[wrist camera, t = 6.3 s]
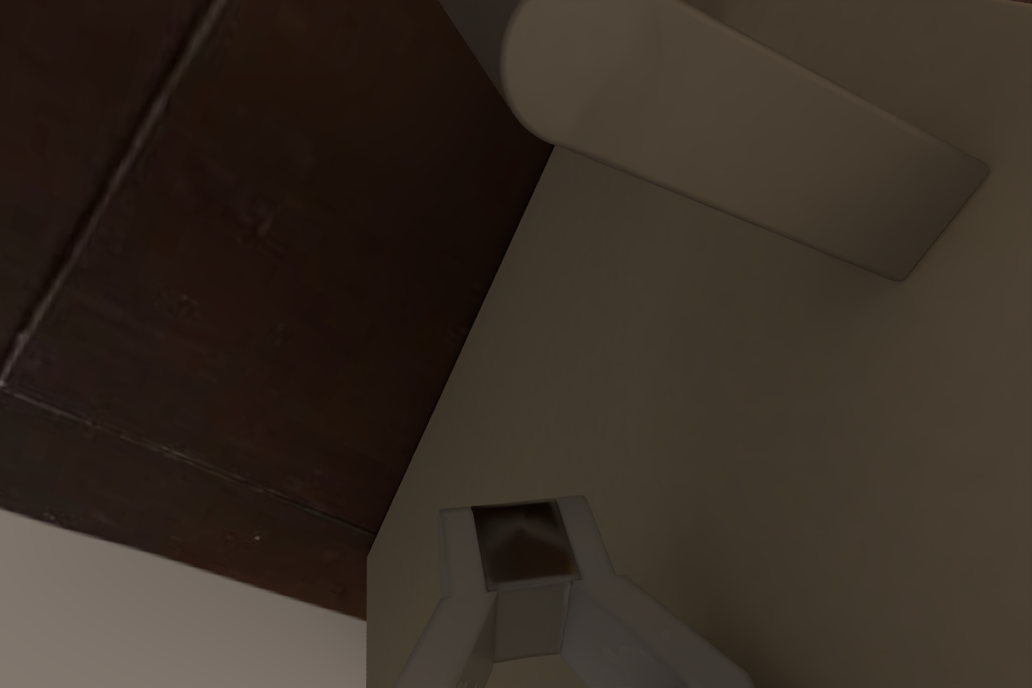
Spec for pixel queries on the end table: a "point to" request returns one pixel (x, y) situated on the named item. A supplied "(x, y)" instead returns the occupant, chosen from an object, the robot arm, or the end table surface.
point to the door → (757, 333)
